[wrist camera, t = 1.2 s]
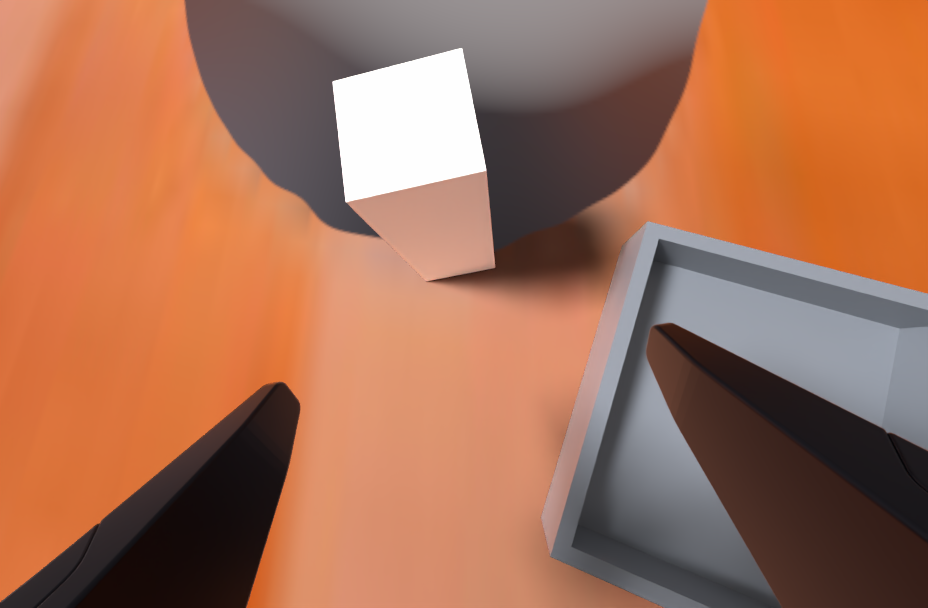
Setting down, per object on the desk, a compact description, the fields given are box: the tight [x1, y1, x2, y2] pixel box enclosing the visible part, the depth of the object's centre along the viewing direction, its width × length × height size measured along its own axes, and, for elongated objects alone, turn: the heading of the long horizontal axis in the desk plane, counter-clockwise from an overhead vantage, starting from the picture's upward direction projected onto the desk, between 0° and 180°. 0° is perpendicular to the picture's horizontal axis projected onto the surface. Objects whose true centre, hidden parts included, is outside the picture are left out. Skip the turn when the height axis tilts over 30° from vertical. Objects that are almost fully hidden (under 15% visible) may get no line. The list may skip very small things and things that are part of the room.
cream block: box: [333, 48, 495, 281], centre depth 18 cm, size 5×5×12 cm
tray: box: [541, 222, 928, 608], centre depth 18 cm, size 18×16×4 cm
